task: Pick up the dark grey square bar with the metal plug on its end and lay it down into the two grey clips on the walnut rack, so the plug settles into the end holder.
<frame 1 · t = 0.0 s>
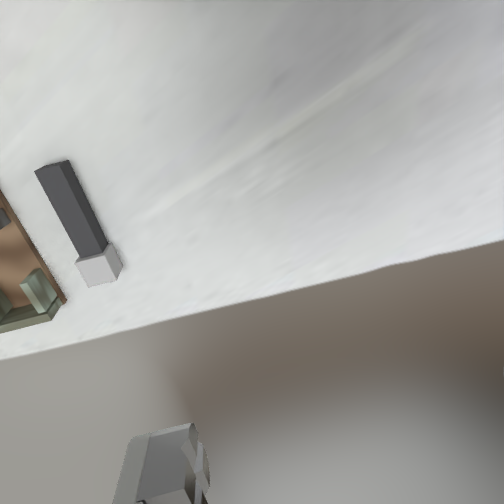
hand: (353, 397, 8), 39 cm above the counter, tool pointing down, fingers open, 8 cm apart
dark grey square bar: (82, 213, 44), on the counter
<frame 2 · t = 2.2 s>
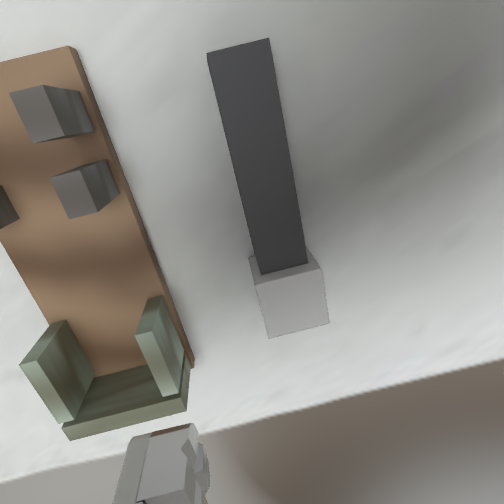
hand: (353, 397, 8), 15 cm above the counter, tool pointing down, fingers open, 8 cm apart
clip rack: (83, 241, 21), on the counter
dark grey square bar: (260, 180, 21), on the counter
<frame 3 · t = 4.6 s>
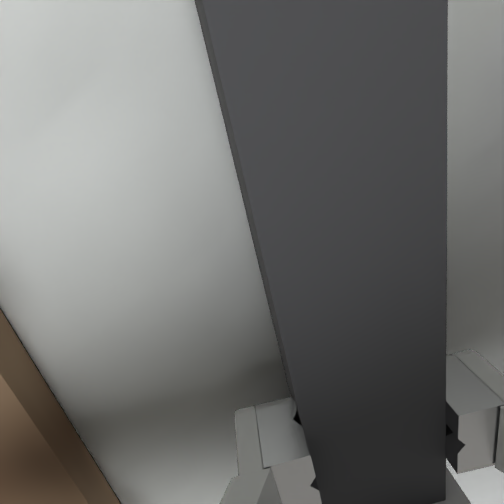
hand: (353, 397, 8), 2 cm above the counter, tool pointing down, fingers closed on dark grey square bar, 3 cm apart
dark grey square bar: (320, 283, 9), on the counter, touching gripper
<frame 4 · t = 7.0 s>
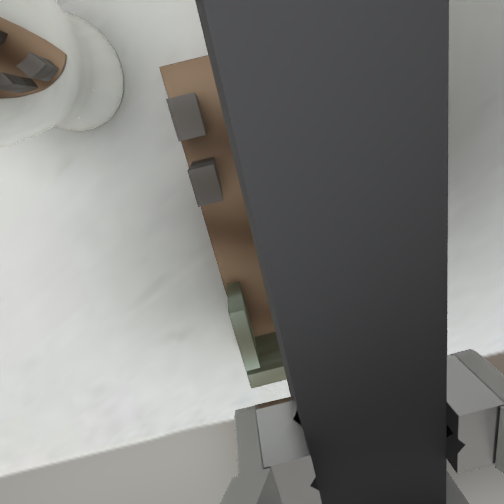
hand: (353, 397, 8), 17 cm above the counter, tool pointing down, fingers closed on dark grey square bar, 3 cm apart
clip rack: (261, 210, 24), on the counter
beer glass: (72, 76, 19), on the counter
dark grey square bar: (321, 287, 9), point 15 cm above the counter, touching gripper
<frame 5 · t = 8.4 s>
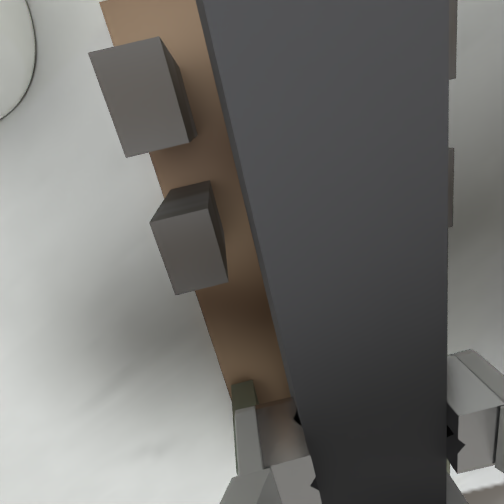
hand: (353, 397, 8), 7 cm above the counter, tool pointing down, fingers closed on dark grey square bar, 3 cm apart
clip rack: (290, 266, 14), on the counter
dark grey square bar: (321, 288, 9), point 5 cm above the counter, touching gripper
when the fingers open (4 cm above the counter, at t = 9.6 s): dark grey square bar stays where it is, resting on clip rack.
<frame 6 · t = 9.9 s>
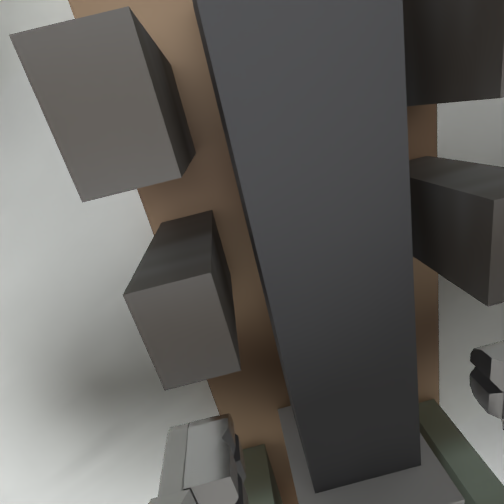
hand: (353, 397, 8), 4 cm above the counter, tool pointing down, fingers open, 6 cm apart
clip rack: (310, 308, 11), on the counter
dark grey square bar: (309, 272, 10), point 1 cm above the counter, touching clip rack
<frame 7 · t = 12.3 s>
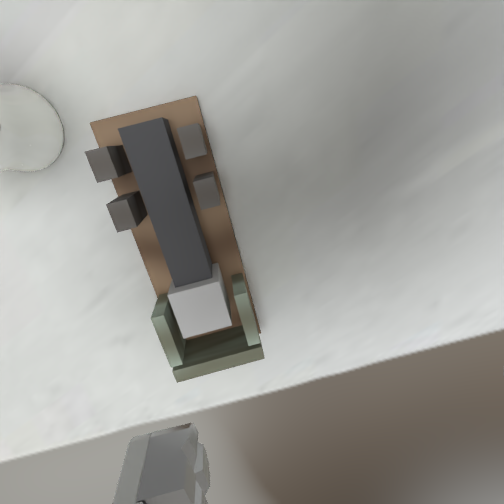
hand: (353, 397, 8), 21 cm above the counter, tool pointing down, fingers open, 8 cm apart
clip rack: (185, 232, 28), on the counter
beer glass: (22, 129, 25), on the counter
dark grey square bar: (177, 213, 27), point 1 cm above the counter, touching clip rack
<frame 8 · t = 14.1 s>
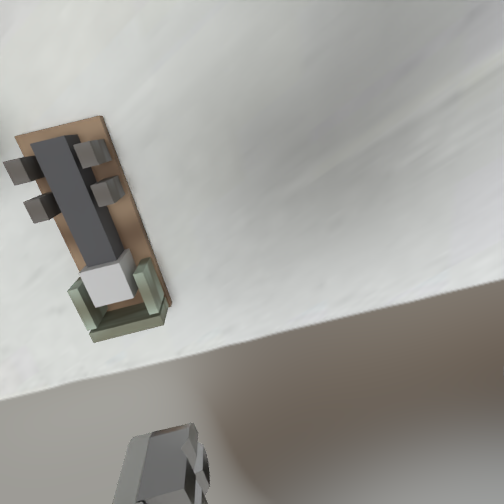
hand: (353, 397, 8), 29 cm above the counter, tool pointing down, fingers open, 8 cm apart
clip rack: (102, 223, 35), on the counter
dark grey square bar: (92, 208, 33), point 1 cm above the counter, touching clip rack
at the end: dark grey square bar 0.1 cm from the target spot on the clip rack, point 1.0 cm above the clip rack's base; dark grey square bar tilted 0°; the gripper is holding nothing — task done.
